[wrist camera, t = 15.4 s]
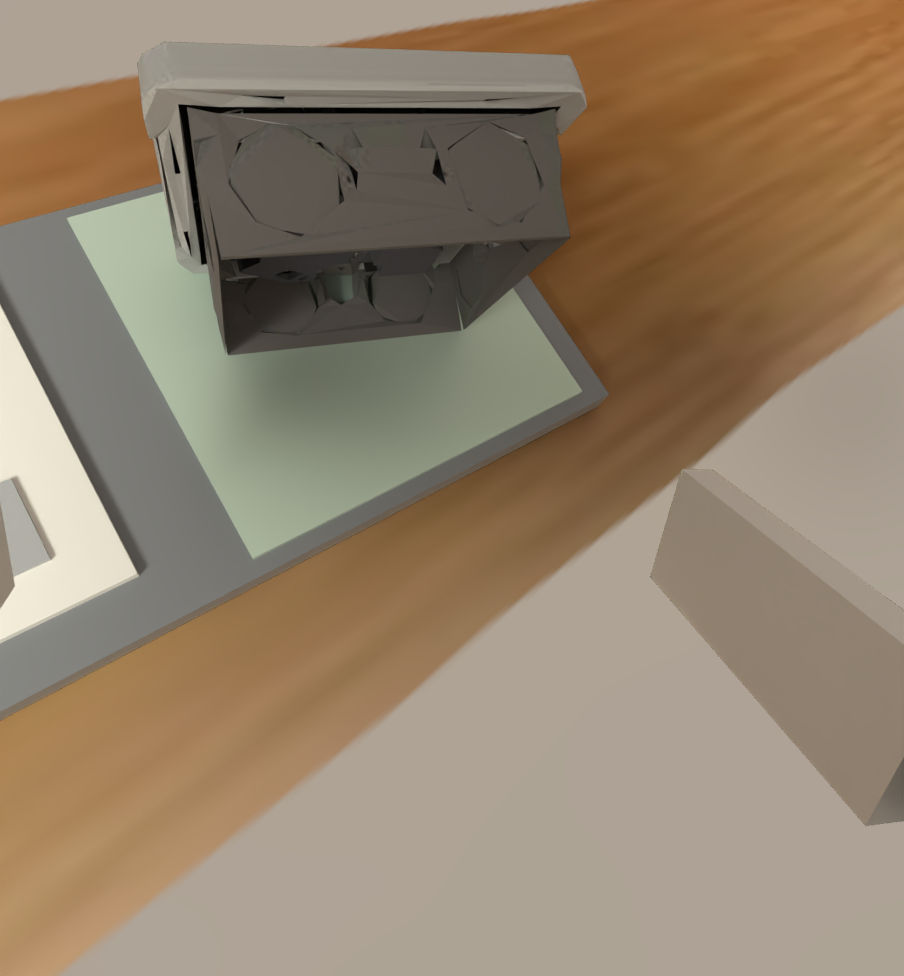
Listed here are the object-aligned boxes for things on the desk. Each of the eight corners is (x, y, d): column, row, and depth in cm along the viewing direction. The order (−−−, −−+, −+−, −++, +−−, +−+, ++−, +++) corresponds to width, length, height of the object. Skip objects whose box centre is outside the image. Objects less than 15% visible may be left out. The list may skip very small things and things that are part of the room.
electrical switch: (458, 236, 24) (571, -10, 15) (494, 371, 23) (636, 194, 14) (175, 253, 21) (110, -40, 12) (204, 409, 20) (155, 215, 11)
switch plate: (-89, 767, 16) (-123, 771, 14) (-274, 328, 18) (-318, 297, 17) (596, 407, 24) (615, 388, 23) (413, 135, 26) (420, 104, 25)
